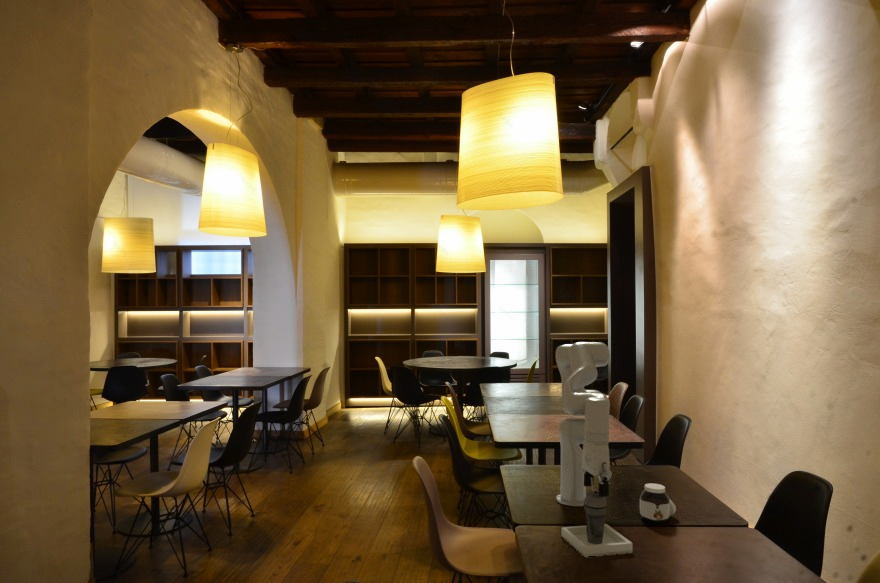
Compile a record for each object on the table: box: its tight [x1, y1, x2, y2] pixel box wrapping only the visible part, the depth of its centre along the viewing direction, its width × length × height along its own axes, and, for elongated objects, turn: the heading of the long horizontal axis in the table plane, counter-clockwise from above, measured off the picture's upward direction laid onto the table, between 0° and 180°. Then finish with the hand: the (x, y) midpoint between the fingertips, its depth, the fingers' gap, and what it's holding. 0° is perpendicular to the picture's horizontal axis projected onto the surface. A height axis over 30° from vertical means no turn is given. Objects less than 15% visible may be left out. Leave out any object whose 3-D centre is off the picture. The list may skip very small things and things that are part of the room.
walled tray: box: [561, 523, 634, 558], centre depth 188 cm, size 16×16×3 cm
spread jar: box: [639, 482, 677, 524], centre depth 212 cm, size 12×11×12 cm
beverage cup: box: [583, 477, 608, 544], centre depth 188 cm, size 7×7×20 cm
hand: (595, 490), depth 188 cm, fingers open, 9 cm apart
